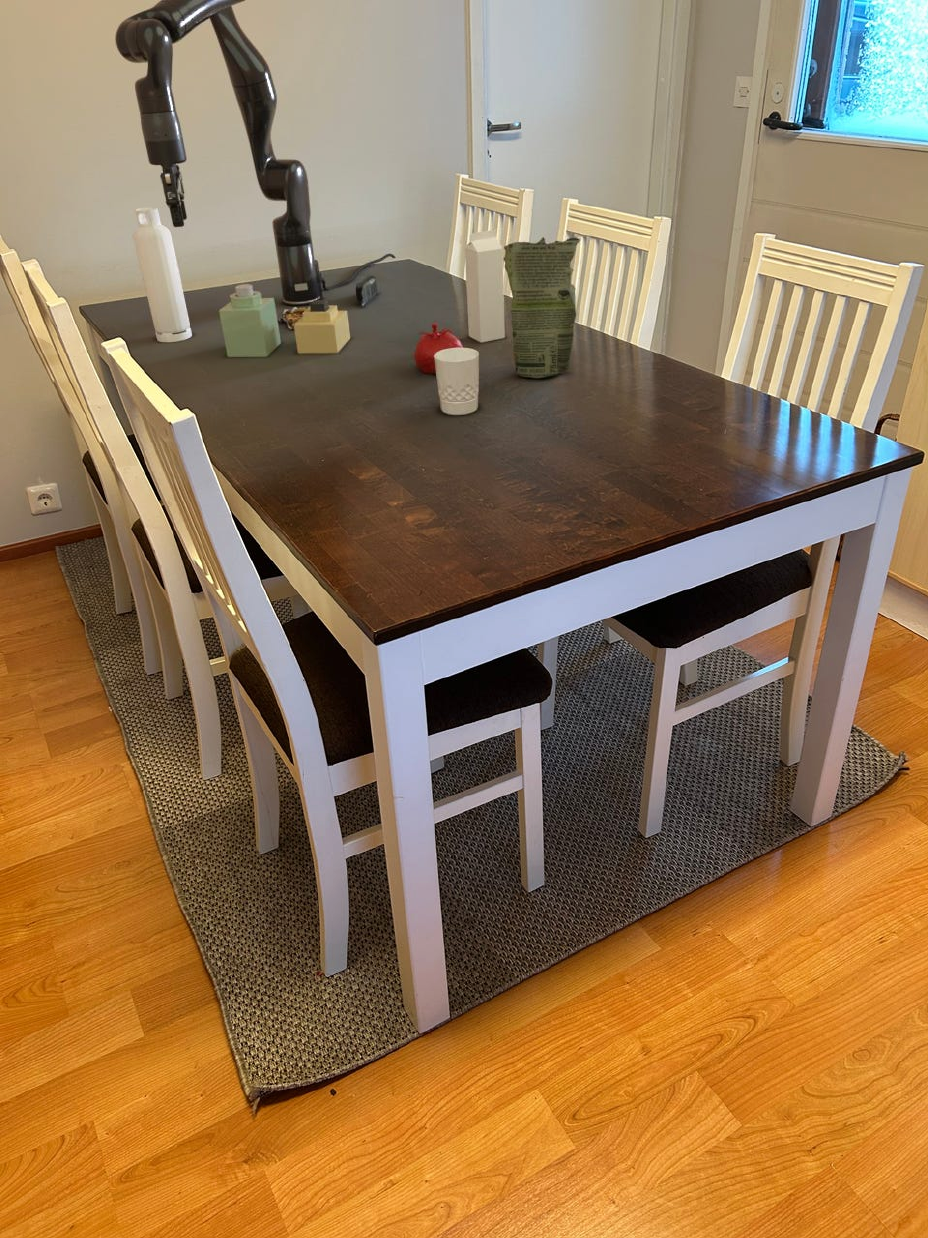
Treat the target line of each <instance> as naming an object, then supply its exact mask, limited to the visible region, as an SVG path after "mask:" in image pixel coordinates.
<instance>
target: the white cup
mask: <svg viewBox="0 0 928 1238" xmlns="http://www.w3.org/2000/svg"><path fill="white" fill-rule="evenodd" d="M434 359H435V368H436V374H435V376H436V384H437V392H438V397H439V407H440V410H441V412H442V413H444V414H447V415H451V416H463V415H468V414H472V413H474V412H475V411H477V410H478V408H479V390H480V388H479V387H480V386H479V381H480V352H479V351H478V350H476V349H473V348H469V347H463V348H450V349H445V350H441V351H439V352H437V353H436V354H435V355H434Z"/></svg>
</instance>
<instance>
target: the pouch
mask: <svg viewBox="0 0 928 1238" xmlns="http://www.w3.org/2000/svg"><path fill="white" fill-rule="evenodd" d="M580 242H581V238H577V236H572V237H569V238H567V239H566V240H563V241H560V240H555V241H553V242H549V243H547V242H546V238H545V237H544V236H542V238H541V239H540V240H539V241H537V242H530V241H515V242H512V243H508V244H507V245H504V246H503V248H504V257H503V262H504V269H505V271H506V273H507V278H508V284H509V288H510V291H511V296H512V300H511V304H510V309H511V310H510V313H511V327H512V339H513V341H512V344H511V346H512V348H511V349H512V354H513V360H514V364H515V375H517V376H519V377H522V378H531V379H544V378H548V377H549V378H550V377H554V376H555V375H558V374H560V373H563V372H568V373H569V370H570V361H571V360H570V359H571V355H572V349H573V341H574V333H575V322H576V317H577V304H576V303H577V302H576V299H577V297H576V290H577V289H576V286H575V285H574V284H572V274H573V272H574V269H573V267H572V261H573V259H574V257H575V255H576V250H577V246H578V244H579V243H580Z"/></svg>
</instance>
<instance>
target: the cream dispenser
mask: <svg viewBox="0 0 928 1238" xmlns="http://www.w3.org/2000/svg"><path fill="white" fill-rule="evenodd" d="M328 306H329V309H328V310H327V311H326V312H311V310H310V306H308V307H306V310H305V311H304V312H303V313H302V315H303V317H302V318H301V319H300V320H299V321H297V322H296V323H295V324H294V329H293V331H294V335H295V341H296V350H297V354H339V353H340V351H341V350H342V349H343V348H344V347H345V345H346V344H347V343H348V342H349V340H350V339H351V333H350V325H349V317H348V310H338V305H328Z"/></svg>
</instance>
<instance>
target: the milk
mask: <svg viewBox="0 0 928 1238" xmlns="http://www.w3.org/2000/svg"><path fill="white" fill-rule="evenodd" d="M496 234H497V233H496V230H495V229H491V230H485V231H484V230H483V231H478V232H471V233H470V235H469V242H468V243H467V244H466V245H465V246H464V261H465V262H464V263H465V264H464V265H465V281H466V282H465V284H466V305H467V322H468V323H467V325H468V338H469V337H470V338H471V339H473V340H475V341H477V342H478V343H480V344H481V343H482V344H483V343H487V342H491V341H497V340H502V339H505V301H504V300H505V299H504V297H505V295H504V263H503V262H504V257H503V255H504V254H503V246H502V245H501V243H500V242H499V241H498V239H497V235H496Z"/></svg>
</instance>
